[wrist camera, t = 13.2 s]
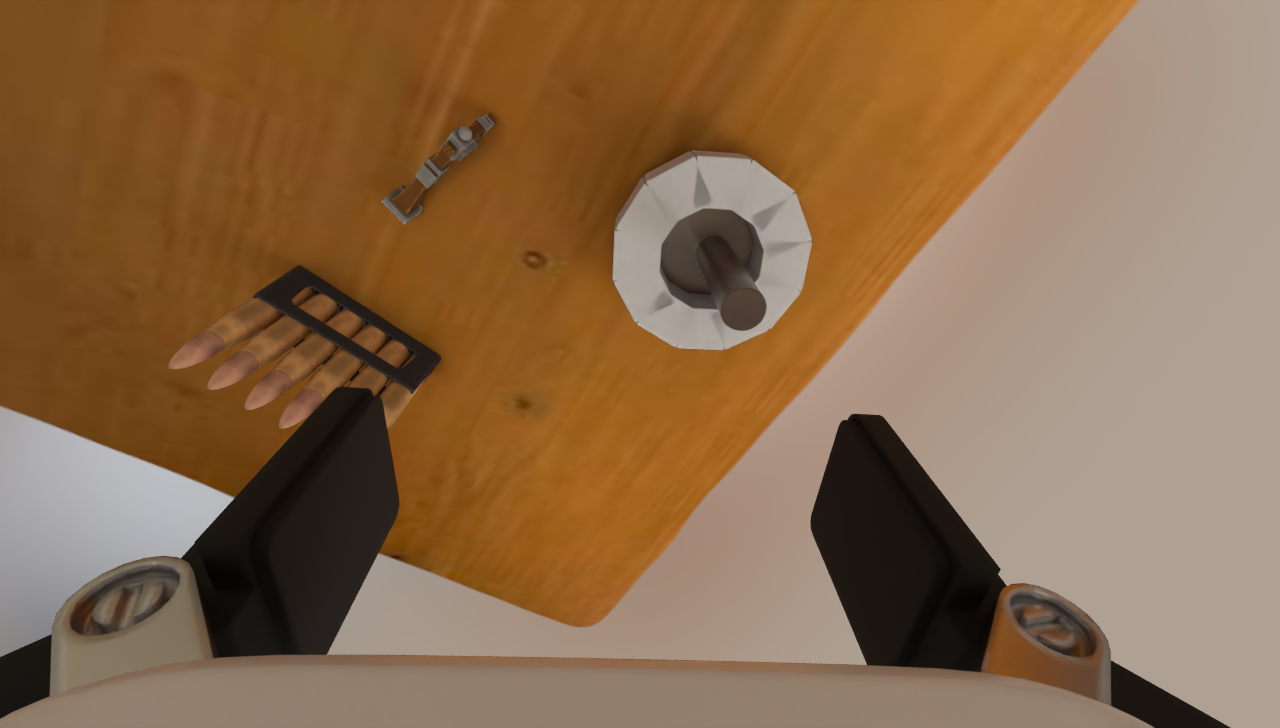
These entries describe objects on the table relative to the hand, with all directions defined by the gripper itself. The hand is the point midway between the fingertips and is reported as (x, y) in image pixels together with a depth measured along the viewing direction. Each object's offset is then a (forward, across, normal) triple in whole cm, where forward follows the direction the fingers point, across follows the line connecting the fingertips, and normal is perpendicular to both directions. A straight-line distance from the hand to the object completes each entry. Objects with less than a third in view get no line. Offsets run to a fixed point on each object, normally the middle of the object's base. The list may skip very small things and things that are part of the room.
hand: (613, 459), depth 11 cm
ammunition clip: (+26, +17, +9) cm, 32 cm away
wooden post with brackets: (+26, +11, -2) cm, 28 cm away
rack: (+26, -6, +2) cm, 26 cm away
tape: (+25, -6, +2) cm, 25 cm away
